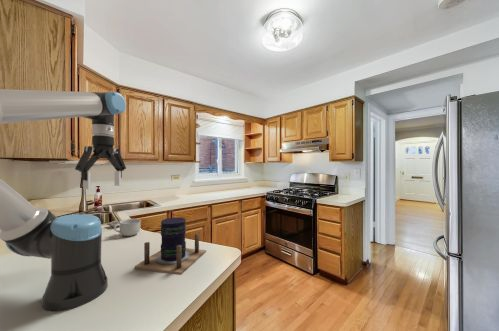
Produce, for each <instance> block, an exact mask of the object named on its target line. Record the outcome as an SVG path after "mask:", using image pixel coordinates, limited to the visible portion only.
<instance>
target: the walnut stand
mask: <svg viewBox="0 0 499 331" xmlns="http://www.w3.org/2000/svg"><path fill="white" fill-rule="evenodd" d="M150 244H151V243H150V242H149V241H146V242H144V253H143V254H144V255H143V256H144V260H143V261H141V262H139V263H138V264H136V265H134V270H138V271H149V272H157V273H158V272H159V273H167V274H175V275H183V274H184V273H185V272H186V271H187V270H189V268H190V267H191V266H192V265H193V264H195V263H196V262H197V261H198V260H199V259H200V258H201V257H203V256H204V254H206V253H207V250H206V249H200V234H199V233H197V232H196V233H194V248H187V247H186V251H185V253H186V255H185V257H184V258H182V246H181V245H178V246H177V253H176V261H171V262H167V261H163V260H161V249H159V250H158V251H157V252H155V253H153V254H152V255H151V256H150V249H151V248H150Z"/></svg>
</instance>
